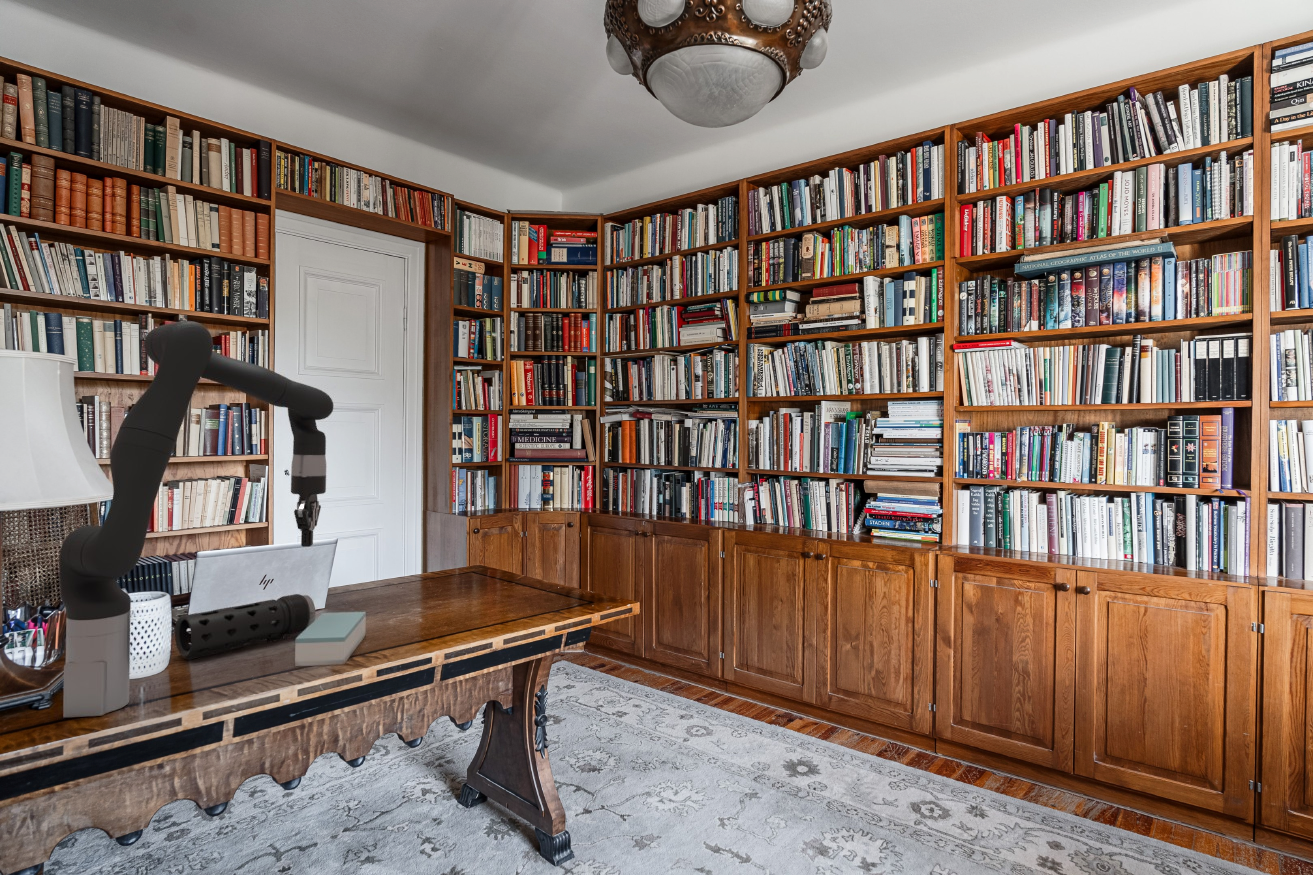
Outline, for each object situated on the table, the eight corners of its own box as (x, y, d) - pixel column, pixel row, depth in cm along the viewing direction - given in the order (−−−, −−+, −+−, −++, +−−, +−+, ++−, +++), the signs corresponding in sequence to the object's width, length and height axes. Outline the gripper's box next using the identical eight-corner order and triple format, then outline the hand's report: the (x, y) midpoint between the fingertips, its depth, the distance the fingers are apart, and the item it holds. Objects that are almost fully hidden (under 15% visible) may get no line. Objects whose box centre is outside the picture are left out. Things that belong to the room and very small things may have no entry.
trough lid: (344, 641, 154) (344, 637, 154) (295, 643, 153) (295, 638, 152) (365, 615, 176) (365, 611, 176) (323, 616, 174) (323, 612, 174)
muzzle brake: (173, 657, 158) (174, 611, 158) (297, 629, 180) (297, 589, 180) (192, 665, 152) (192, 618, 152) (317, 636, 175) (317, 595, 175)
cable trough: (344, 664, 154) (344, 641, 154) (295, 666, 153) (295, 643, 153) (365, 635, 176) (365, 615, 176) (322, 637, 174) (323, 616, 174)
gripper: (300, 472, 174) (298, 542, 173) (282, 475, 161) (280, 550, 160) (333, 472, 175) (331, 542, 175) (317, 475, 162) (315, 550, 162)
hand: (306, 546), depth 168 cm, fingers closed
